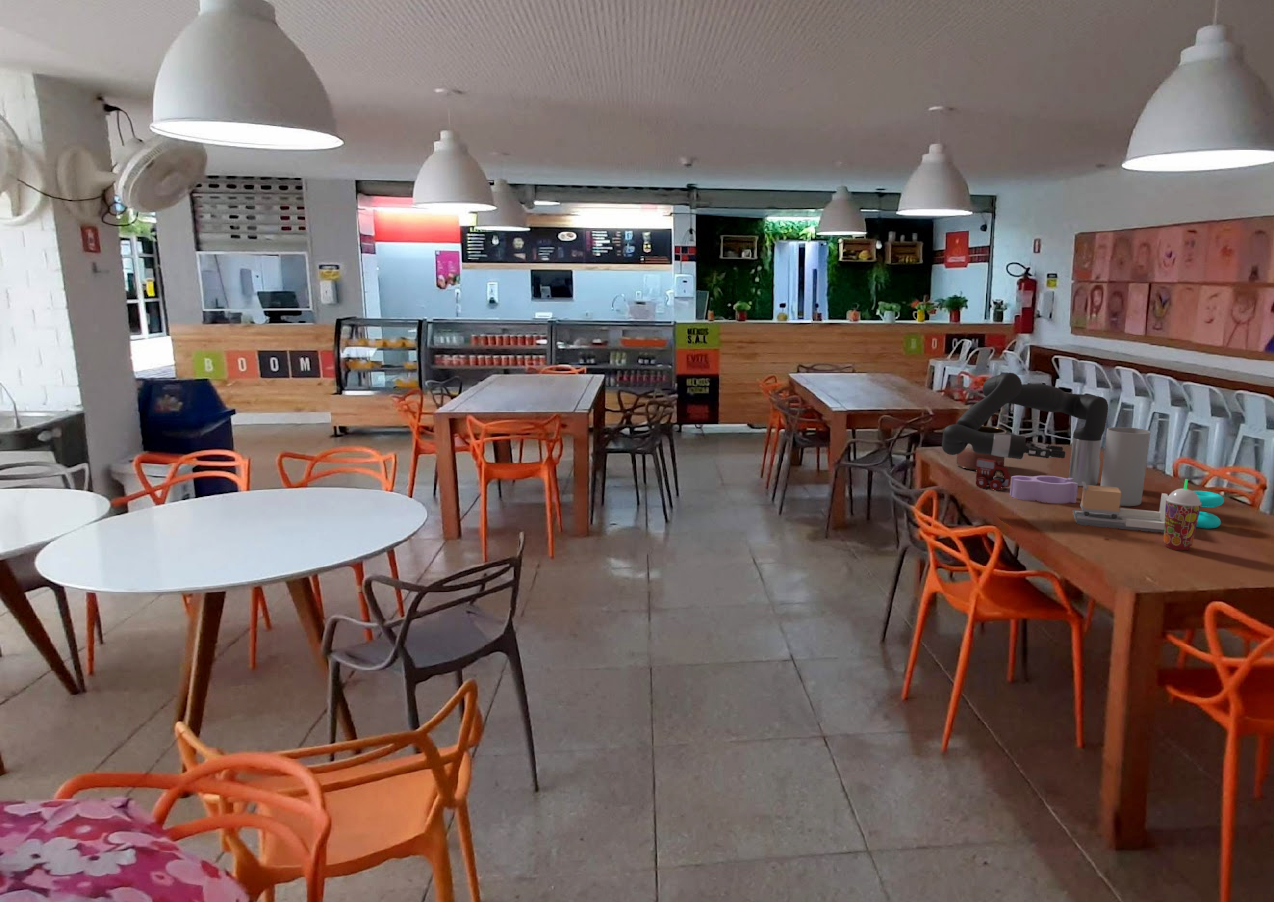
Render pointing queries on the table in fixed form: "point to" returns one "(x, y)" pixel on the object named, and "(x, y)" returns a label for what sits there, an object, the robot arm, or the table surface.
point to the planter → (970, 457)
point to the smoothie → (1181, 518)
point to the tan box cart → (1100, 500)
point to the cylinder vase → (1126, 462)
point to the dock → (1127, 518)
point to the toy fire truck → (992, 474)
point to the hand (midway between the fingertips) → (1063, 452)
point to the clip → (1044, 489)
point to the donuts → (1208, 501)
